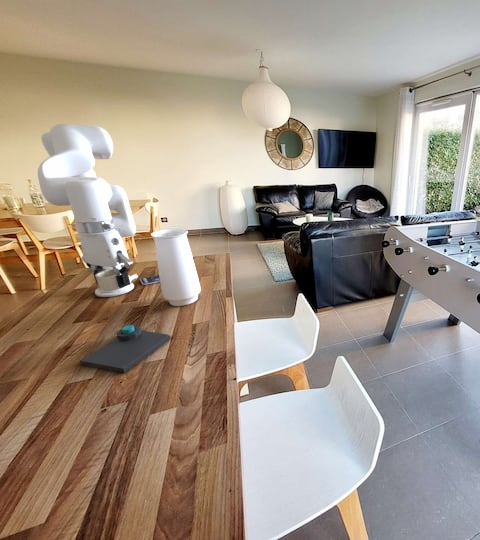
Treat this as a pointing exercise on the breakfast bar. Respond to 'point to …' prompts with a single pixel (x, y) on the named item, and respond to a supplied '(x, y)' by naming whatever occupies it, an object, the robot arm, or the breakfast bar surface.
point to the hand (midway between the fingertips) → (113, 284)
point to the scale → (125, 350)
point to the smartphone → (150, 280)
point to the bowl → (107, 280)
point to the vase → (176, 267)
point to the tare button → (128, 329)
